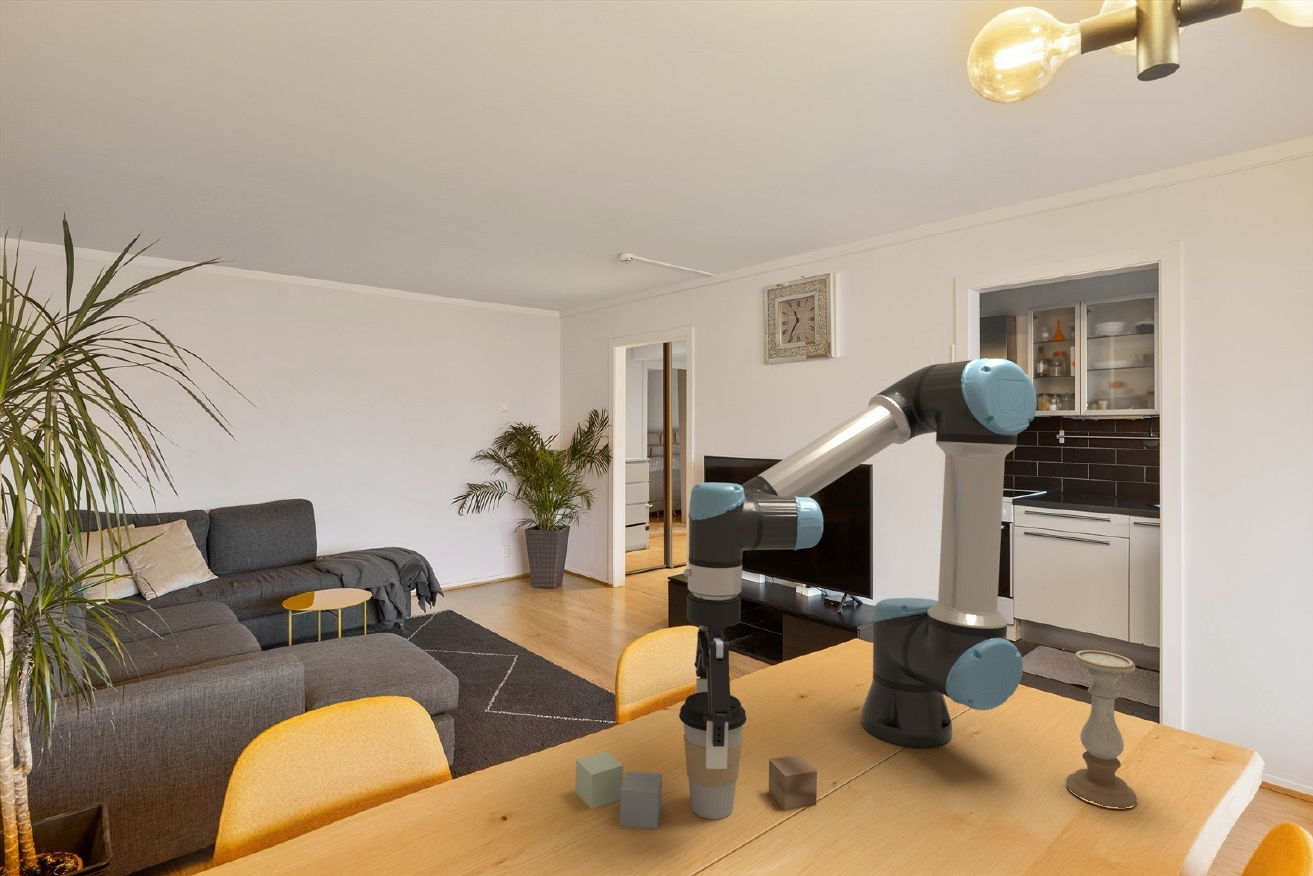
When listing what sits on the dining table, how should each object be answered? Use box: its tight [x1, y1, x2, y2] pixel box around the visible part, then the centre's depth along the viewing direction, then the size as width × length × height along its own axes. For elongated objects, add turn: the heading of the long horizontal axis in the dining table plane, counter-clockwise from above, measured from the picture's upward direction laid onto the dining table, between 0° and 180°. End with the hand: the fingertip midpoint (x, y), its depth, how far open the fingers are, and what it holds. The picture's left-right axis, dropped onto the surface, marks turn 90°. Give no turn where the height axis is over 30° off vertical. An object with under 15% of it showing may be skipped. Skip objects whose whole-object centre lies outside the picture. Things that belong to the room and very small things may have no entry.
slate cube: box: [619, 771, 663, 830], centre depth 94 cm, size 5×5×5 cm
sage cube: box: [575, 750, 624, 810], centre depth 100 cm, size 5×5×5 cm
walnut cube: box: [768, 754, 818, 812], centre depth 99 cm, size 5×5×5 cm
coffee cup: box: [678, 692, 747, 820], centre depth 97 cm, size 9×9×15 cm
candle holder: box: [1065, 649, 1138, 808], centre depth 101 cm, size 9×9×20 cm
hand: (709, 743), depth 97 cm, fingers open, 13 cm apart
